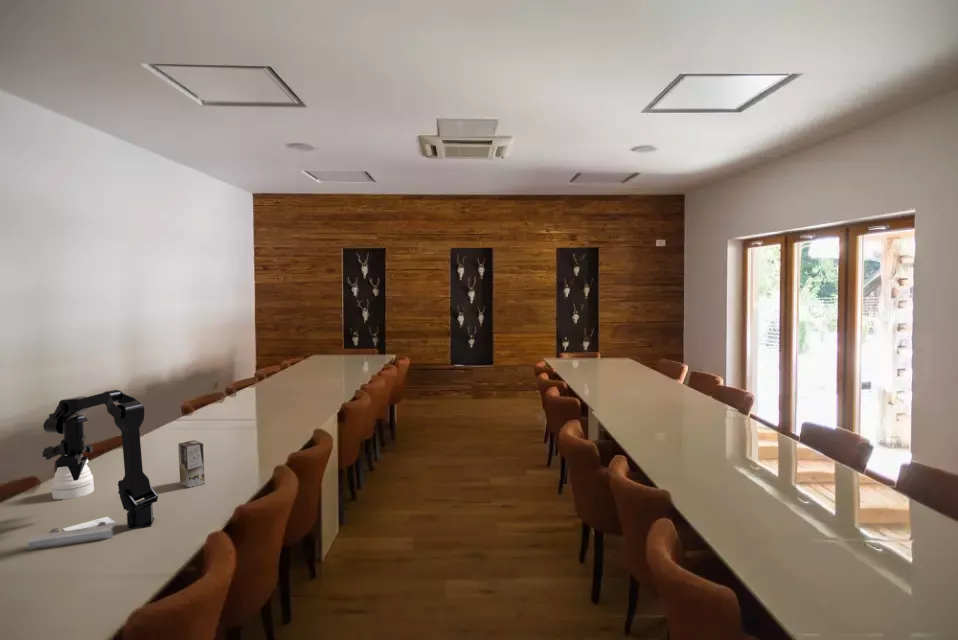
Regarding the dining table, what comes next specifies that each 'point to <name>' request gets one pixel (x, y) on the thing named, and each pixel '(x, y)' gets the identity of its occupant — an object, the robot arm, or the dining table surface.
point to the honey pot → (72, 483)
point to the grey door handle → (71, 536)
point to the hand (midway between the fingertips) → (76, 480)
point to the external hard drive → (91, 524)
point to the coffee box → (191, 463)
